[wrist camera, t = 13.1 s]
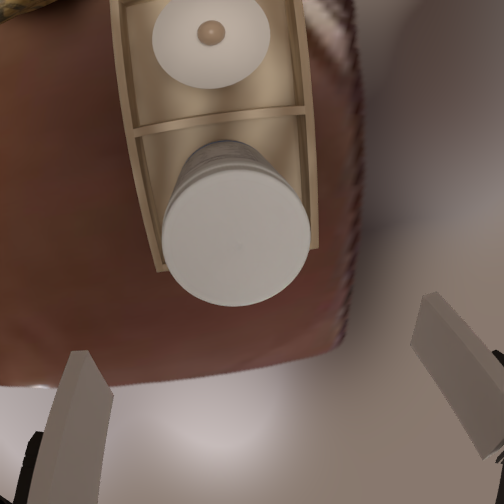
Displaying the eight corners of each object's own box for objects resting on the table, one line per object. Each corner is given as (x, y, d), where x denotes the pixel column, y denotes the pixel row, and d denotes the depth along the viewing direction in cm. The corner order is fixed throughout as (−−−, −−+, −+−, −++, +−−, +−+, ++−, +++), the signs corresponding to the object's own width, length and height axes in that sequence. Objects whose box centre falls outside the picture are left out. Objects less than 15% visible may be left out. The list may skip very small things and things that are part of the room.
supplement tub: (279, 213, 35) (323, 290, 22) (194, 237, 35) (190, 326, 22) (259, 126, 30) (300, 150, 17) (166, 152, 30) (135, 196, 17)
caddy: (161, 254, 36) (156, 272, 33) (120, 4, 23) (109, -6, 19) (308, 232, 37) (318, 248, 34) (287, -17, 24) (297, -29, 20)
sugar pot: (170, 97, 28) (155, 97, 19) (161, 17, 24) (144, -11, 15) (259, 86, 28) (280, 81, 20) (250, 6, 24) (267, -26, 16)
